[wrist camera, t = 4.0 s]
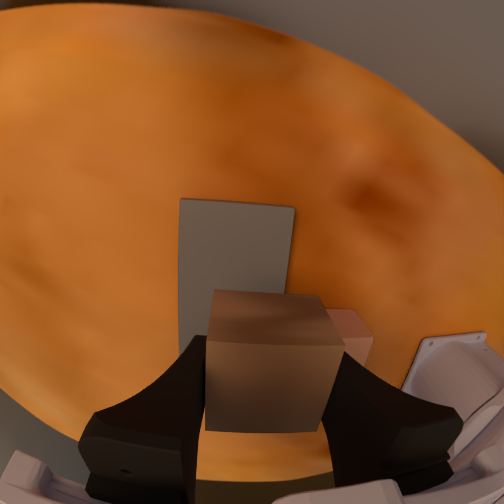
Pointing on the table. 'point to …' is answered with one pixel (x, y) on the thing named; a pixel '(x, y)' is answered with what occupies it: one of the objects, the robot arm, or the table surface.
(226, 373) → the walnut brick
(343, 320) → the terracotta brick
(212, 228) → the baseplate
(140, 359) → the table surface
